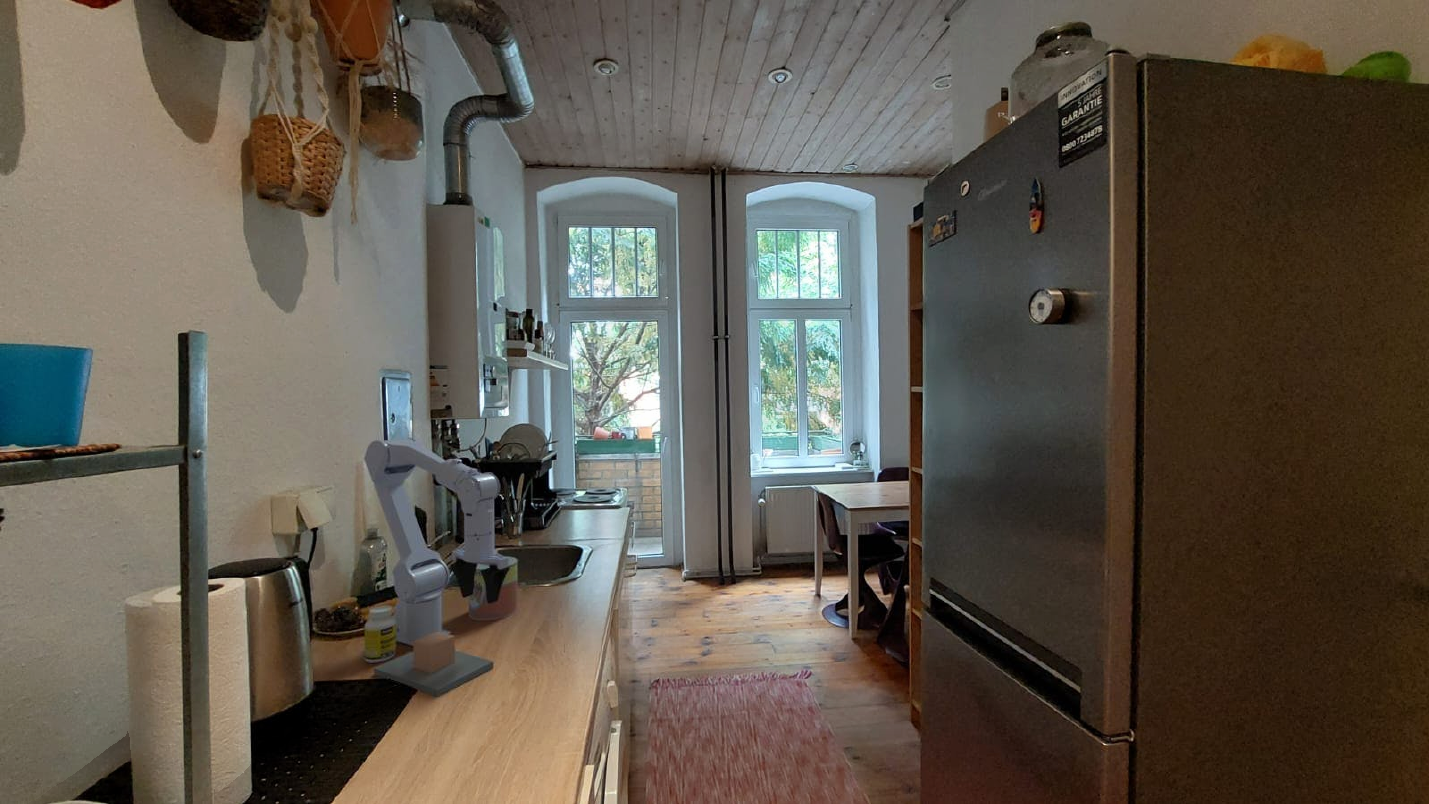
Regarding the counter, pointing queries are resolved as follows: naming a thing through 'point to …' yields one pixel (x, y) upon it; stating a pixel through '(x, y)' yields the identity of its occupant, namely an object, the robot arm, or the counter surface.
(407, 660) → the slate board
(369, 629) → the supplement bottle
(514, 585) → the canned food
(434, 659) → the terracotta cube
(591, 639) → the counter surface
